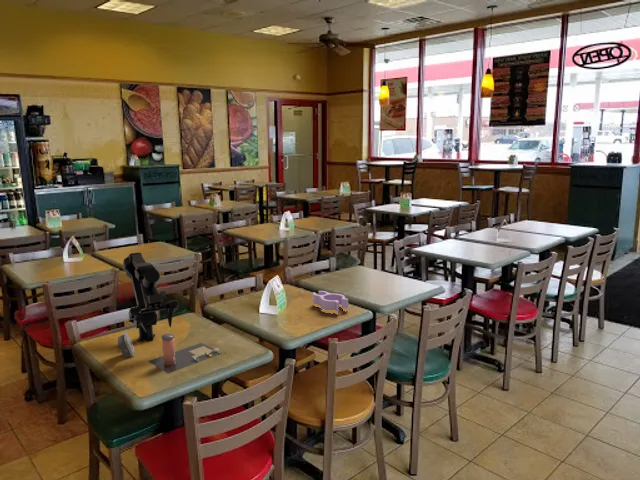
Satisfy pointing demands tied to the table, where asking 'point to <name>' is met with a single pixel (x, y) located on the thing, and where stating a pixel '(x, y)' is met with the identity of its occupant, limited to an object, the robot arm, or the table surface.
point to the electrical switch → (126, 345)
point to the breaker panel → (187, 357)
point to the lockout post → (168, 349)
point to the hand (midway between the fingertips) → (158, 329)
